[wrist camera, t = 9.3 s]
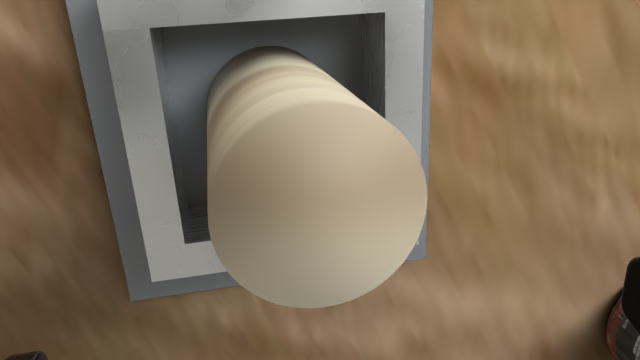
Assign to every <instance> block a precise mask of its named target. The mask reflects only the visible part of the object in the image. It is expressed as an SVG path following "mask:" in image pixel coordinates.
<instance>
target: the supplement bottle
mask: <svg viewBox="0 0 640 360" xmlns="http://www.w3.org/2000/svg"><path fill="white" fill-rule="evenodd" d="M606 341H607V344H608V347H609V350H610V352H611V353H612V355H613V356H614V357H615V358H616V360H640V335H639V334H638V333H637V331H636V330H635V329H634V327H633V326H632V325H631V323H630V322H629V321H628V319H627V318H626V316H625V315H624V313H623V310H622V307H621V297H620V299H619V300H618V302H617V304H616V305H615V307H614V308H613V309H612V312H611V314H610V317H609V319H608V323H607V329H606Z"/></svg>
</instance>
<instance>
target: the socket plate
mask: <svg viewBox="0 0 640 360" xmlns="http://www.w3.org/2000/svg"><path fill="white" fill-rule="evenodd" d="M65 1H66V6H67V10H68V15H69V20H70V24H71V29H72V33H73V38H74V43H75V47H76V52H77V56H78V61H79V65H80V70H81V75H82V79H83V84H84V88H85V93H86V98H87V102H88V107H89V111H90V116H91V121H92V125H93V130H94V134H95V139H96V143H97V148H98V153H99V157H100V162H101V166H102V171H103V176H104V180H105V185H106V189H107V194H108V199H109V203H110V208H111V212H112V217H113V221H114V226H115V231H116V235H117V240H118V244H119V249H120V254H121V258H122V263H123V267H124V272H125V277H126V281H127V286H128V290H129V295H130V299H131V301H137V300H144V299H151V298H158V297H165V296H171V295H178V294H185V293H192V292H199V291H206V290H212V289H219V288H226V287H233V286H240V284H239V283H238V282H237V281H236V280H234V279H233V278H232V277H231V276H230V274H229V273H228V272H220V273H213V274H206V275H199V276H192V277H185V278H178V279H170V280H163V281H156V282H152V280H151V274H150V269H149V264H148V259H147V254H146V249H145V244H144V239H143V234H142V229H141V224H140V219H139V214H138V208H137V203H136V198H135V193H134V188H133V183H132V178H131V173H130V168H129V163H128V158H127V153H126V148H125V142H124V137H123V132H122V127H121V122H120V117H119V112H118V107H117V102H116V97H115V92H114V87H113V81H112V76H111V71H110V66H109V61H108V56H107V51H106V46H105V41H104V36H103V31H102V26H101V21H100V15H99V10H98V5H97V0H65ZM432 30H433V0H425V10H424V51H423V92H422V133H421V165H422V168H423V171H424V174H425V179H426V185H427V195H428V162H429V129H430V96H431V63H432ZM161 33H162V39H163V45H164V52H165V58H166V65H167V71H168V77H169V84H170V90H171V97H172V103H173V109H174V116H175V122H176V129H177V135H178V141H179V148H180V154H181V160H182V167H183V173H184V180H185V186H186V192H187V199H188V205H189V206H192V205H200V204H208V201H207V100H208V95H209V90H210V88H211V85H212V82H213V80H214V78H215V77H216V75H217V73H218V72H219V71H220V69H221V68H222V67H223V66H224V65H225V64H226V63H227V62H228V61H229V60H230V59H232V58H233V57H234V56H236V55H238V54H239V53H241V52H243V51H246V50H248V49H251V48H254V47H259V46H281V47H285V48H289V49H292V50H294V51H296V52H298V53H300V54H302V55H304V56H305V57H306V58H308V59H309V60H310V61H312V62H313V63H314V64H315V65H317V66H318V67H319V68H321V69H322V70H323V71H324V72H326V73H327V74H328V75H329V76H331V77H332V78H333V79H335V80H336V81H337V82H338V83H340V84H341V85H342V86H343V87H345V88H346V89H347V90H349V91H350V92H351V93H352V94H354V95H355V96H356V97H357V98H359V99H360V57H359V14H350V15H335V16H320V17H305V18H290V19H275V20H260V21H245V22H230V23H215V24H200V25H185V26H171V27H161ZM426 228H427V208H426V215H425V219H424V224H423V227H422V229H421V232H420V235H419V244H418V245H414V247H413V249H412V251H411V252H410V254H409V255H408V257H407V258H406V260H405V261H411V260H418V259H425V258H426Z"/></svg>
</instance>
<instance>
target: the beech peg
mask: <svg viewBox="0 0 640 360" xmlns="http://www.w3.org/2000/svg"><path fill="white" fill-rule="evenodd" d="M207 201H208V227H209V233H210V237H211V242H212V244H213V247H214V249H215V252H216V255H217V256H218V258H219V260H220V262H221V263H222V265H223V267H224V268H225V269H226V270H227V272H228V273H229V274H230V276H231V277H232V278H233V279H234V280H236V281H237V282H238V283H239V284H240V285H241V286H242V287H244V288H245V289H246V290H248V291H249V292H251V293H252V294H254V295H256V296H258V297H260V298H262V299H264V300H266V301H269V302H272V303H274V304H278V305H282V306H286V307H294V308H322V307H329V306H334V305H338V304H342V303H345V302H348V301H351V300H353V299H356V298H358V297H360V296H362V295H364V294H366V293H368V292H369V291H371V290H373V289H374V288H376V287H377V286H379V285H380V284H381V283H383V282H384V281H385V280H387V279H388V278H389V277H390V276H391V275H392V274H393V273H394V272H395V271H396V270H397V269H398V268H399V267H400V266H401V264H402V263H403V262H404V261H405V260H406V258H407V257H408V255H409V254H410V252H411V251H412V249H413V247H414V245H415V243H416V241H417V239H418V237H419V235H420V232H421V229H422V227H423V224H424V219H425V215H426V208H427V185H426V179H425V174H424V171H423V168H422V165H421V162H420V160H419V158H418V156H417V154H416V152H415V150H414V148H413V147H412V145H411V144H410V143H409V141H408V140H407V138H406V137H405V136H404V135H403V134H402V133H401V132H400V131H399V130H398V129H397V128H396V127H394V126H393V125H392V124H391V123H389V122H388V121H387V120H385V119H384V118H383V117H382V116H380V115H379V114H378V113H377V112H375V111H374V110H373V109H371V108H370V107H369V106H368V105H366V104H365V103H364V102H363V101H361V100H360V99H359V98H357V97H356V96H355V95H354V94H352V93H351V92H350V91H349V90H347V89H346V88H345V87H343V86H342V85H341V84H340V83H338V82H337V81H336V80H335V79H333V78H332V77H331V76H329V75H328V74H327V73H326V72H324V71H323V70H322V69H321V68H319V67H318V66H317V65H315V64H314V63H313V62H312V61H310V60H309V59H308V58H306V57H305V56H304V55H302V54H300V53H298V52H296V51H294V50H292V49H289V48H285V47H281V46H259V47H254V48H251V49H248V50H246V51H243V52H241V53H239V54H238V55H236V56H234V57H233V58H232V59H230V60H229V61H228V62H227V63H226V64H225V65H224V66H223V67H222V68H221V69H220V71H219V72H218V73H217V75H216V77H215V78H214V80H213V82H212V85H211V88H210V90H209V95H208V100H207Z"/></svg>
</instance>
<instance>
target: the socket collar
mask: <svg viewBox="0 0 640 360" xmlns="http://www.w3.org/2000/svg"><path fill="white" fill-rule="evenodd" d="M97 5H98V10H99V15H100V21H101V26H102V31H103V36H104V41H105V46H106V51H107V56H108V61H109V66H110V71H111V76H112V81H113V87H114V92H115V97H116V102H117V107H118V112H119V117H120V122H121V127H122V132H123V137H124V142H125V148H126V153H127V158H128V163H129V168H130V173H131V178H132V183H133V188H134V193H135V198H136V203H137V208H138V214H139V219H140V224H141V229H142V234H143V239H144V244H145V249H146V254H147V259H148V264H149V269H150V274H151V280H152V282H156V281H163V280H170V279H178V278H185V277H192V276H199V275H206V274H213V273H220V272H227V270H226V269H225V268H224V267H223V265H222V263H221V262H220V260H219V258H218V256H217V255H216V252H215V249H214V247H213V244H212V242H211V237H210V233H209V227H208V204H200V205H192V206H189V205H188V199H187V192H186V186H185V180H184V173H183V167H182V160H181V154H180V148H179V141H178V135H177V129H176V122H175V116H174V109H173V103H172V97H171V90H170V84H169V77H168V71H167V65H166V58H165V52H164V45H163V39H162V33H161V27H171V26H185V25H200V24H215V23H230V22H245V21H260V20H275V19H290V18H305V17H320V16H335V15H350V14H359V57H360V100H361V101H363V102H364V103H365V104H366V105H368V106H369V107H370V108H371V109H373V110H374V111H375V112H377V113H378V114H379V115H380V116H382V117H383V118H384V119H385V120H387V121H388V122H389V123H391V124H392V125H393V126H394V127H396V128H397V129H398V130H399V131H400V132H401V133H402V134H403V135H404V136H405V137H406V138H407V140H408V141H409V143H410V144H411V145H412V147H413V148H414V150H415V152H416V154H417V156H418V158H419V160H420V162H421V133H422V92H423V51H424V10H425V0H97ZM418 244H419V237H418V239H417V241H416V243H415V245H418Z"/></svg>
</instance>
